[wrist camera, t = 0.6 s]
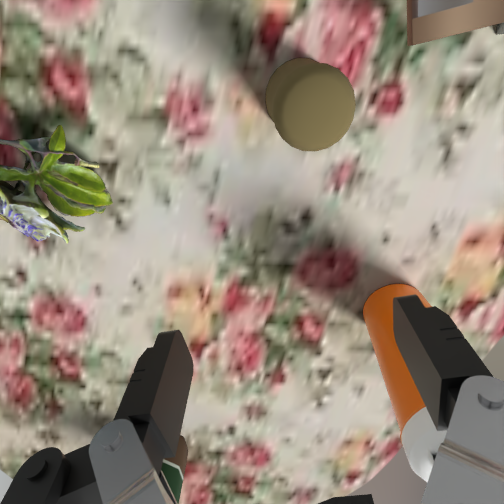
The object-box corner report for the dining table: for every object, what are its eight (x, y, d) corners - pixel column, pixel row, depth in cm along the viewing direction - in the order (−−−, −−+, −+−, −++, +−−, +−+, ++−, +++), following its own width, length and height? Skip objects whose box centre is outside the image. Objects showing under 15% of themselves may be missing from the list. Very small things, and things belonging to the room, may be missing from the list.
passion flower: (59, 181, 40) (-77, 194, 31) (75, 95, 34) (-92, 79, 24) (111, 250, 37) (-24, 286, 28) (139, 169, 30) (-24, 182, 21)
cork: (273, 50, 28) (278, 42, 19) (343, 66, 29) (384, 66, 19) (258, 125, 31) (256, 152, 22) (322, 139, 32) (349, 172, 22)
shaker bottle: (388, 347, 43) (473, 538, 26) (338, 311, 41) (395, 495, 23) (448, 304, 40) (592, 491, 22) (398, 262, 38) (516, 434, 20)
